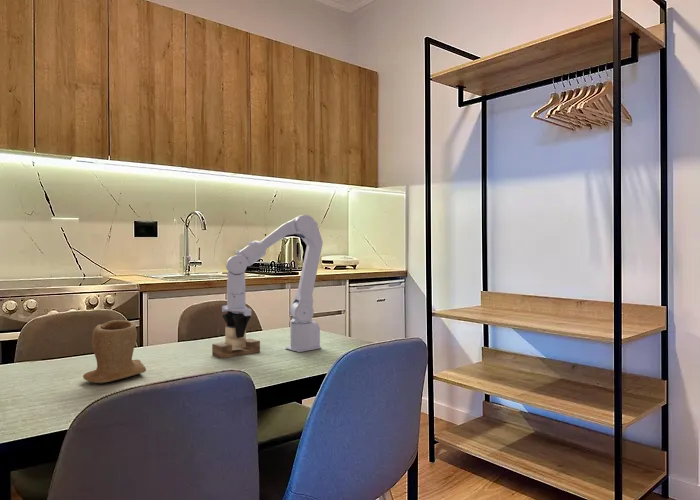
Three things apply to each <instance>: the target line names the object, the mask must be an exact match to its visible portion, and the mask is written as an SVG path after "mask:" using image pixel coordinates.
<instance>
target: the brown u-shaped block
mask: <svg viewBox="0 0 700 500" xmlns="http://www.w3.org/2000/svg"><path fill="white" fill-rule="evenodd" d="M211 347H212V349H211V351H212V352H211V353H212V356H213V357H217V358H220V359H225V358H231V357H239V356H243V355H248V354H255V353H256V354H257V353H260V352H261V340H257V339H253V338H246V347H245V348H239V349H232V345H230V344H226V343H225V342H218V343H217V342H216V343H212V346H211Z"/></svg>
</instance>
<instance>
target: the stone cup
mask: <svg viewBox="0 0 700 500" xmlns="http://www.w3.org/2000/svg"><path fill="white" fill-rule="evenodd" d="M137 331H138V330H137V327H136V324H135V322H133V321H130V320H125V319H117V320H116V319H115V320H109V321H106V322H104V323H102V324H100V323H99V324H97V325H96V326H95V327H94V328H93V331H92V335H91V336H92V337H91V346H92V351H93V353H94V356H95V360H96V369H94V370H91V371H88V372H86V373H84V374H83V375H82V378H83V380H85V381H87V382H89V383H95V384H96V383H97V384H105V383H106V384H107V383H109V382H115V381H119V380H123V379H126V378H130V377H133V376H136V375H140V374H143V373H145V372H147V368H146V366H144V364H143V363H142V361H141V360H140V359H133V354H134V350H135V345H136V342H137V340H138V339H137V338H138V332H137Z"/></svg>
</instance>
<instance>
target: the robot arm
mask: <svg viewBox="0 0 700 500" xmlns="http://www.w3.org/2000/svg"><path fill="white" fill-rule="evenodd" d="M320 232H321V231H320V230H319V224H318V222H317V221H316V220H315V219H314V218H313V217H312V216H311V215H309V214H301V215H298V216H295V217H294V218H293V219H290V220H289V221H286V222H285V223H283V224H281V225H279V226H278V227H277V228H276V229H275V230H274V231H272V232H271V233H269V234H268V235H267V236H265V237H264V238H263V239H262V240H253V241H252V240H251V241H249V242H248V243H247V246H245V247H243V248H242V249H241V250H237V251H236V252H235V254H236V255H233V256H230V257H229V258H228V259H227V261H226V264H225V269H226V271H227V274H226V275H227V279H226V305H221V312H222V313H223V314H221V315H222V316H221V317H222V319H223V320H224V322H225V326H226V325H234V324H235V328H236V336H237V338H241V337H244V333H245V329H246V330H247V325H248V323H249V321H250V319H252V318H251V317H252V309H251V308H248V307H247V306H246V276H245V273H246V270H247V267H251V266H253V264H255V263H256V262H258V261H259V260H260V259H262V258H264V257H265V256H266V252H267V250H268V249H269V248H270V247H272V246H273V245H275V244H276V243H278V242H279V241H281V240H283V238H285V237H286V236H290V235H297V237H299V238H301V239H302V242H304V243H305V245H306V248H305V252H304V258H303V264H302V267H301V272H300V273H301V274H300V277H299V283H298V287H297V291H296V294H295V296H294V297H293V298H294V299H293V301H292V303H291V304H290V306H289V310H288V311H289V315H290V316H291V317H292V318H291V319H290V323H289V324H290V325H289V326H290V333H289V334H290V337H289V338H290V345H289V346H285V347H284V349H285V350H289V351H292V352H293V351H294V352H298V353H301V352H308V351H311V350H313V351H314V350H319V349H322V346H321V332H320V331H321V330H320V328H321V327H320V325H319V323H318V322H316V321H315V320H313V317H314V313H315V312H314V311H315V310H314V308H313V307H314V306H313V305H314V297H313V296H314V295H313V292H314V289H315V283H316V278H317V272H318V268H319V265H320V264H319V263H320V259H321V253H322V249H323V238H322V235H321V233H320ZM235 311H236V312H235ZM226 312H227V313H226Z"/></svg>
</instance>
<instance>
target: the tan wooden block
mask: <svg viewBox="0 0 700 500" xmlns="http://www.w3.org/2000/svg"><path fill="white" fill-rule="evenodd" d="M224 331H225V332H224V333H225V334H224V337H225V338H224V341H225V342H224V343H226V344H230V345H232V349H239V348H245V347H246V339H247V333H246V332H247V328H246V329H245V333H244V337H241V338H237V336H236V328H235V324H234V325H226V324H225V326H224Z"/></svg>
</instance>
